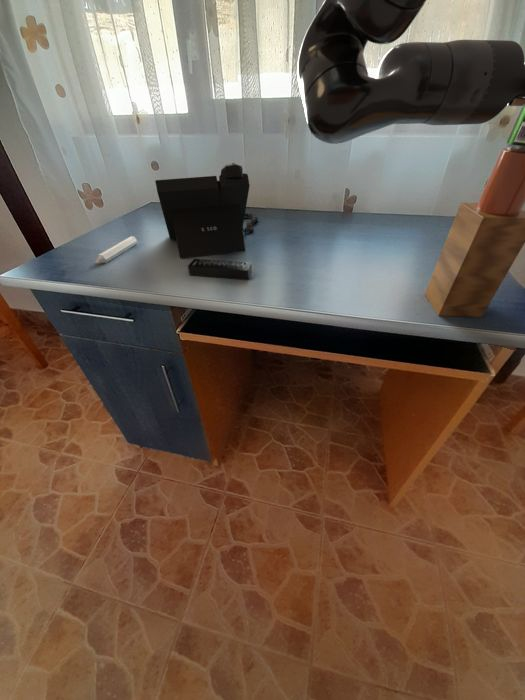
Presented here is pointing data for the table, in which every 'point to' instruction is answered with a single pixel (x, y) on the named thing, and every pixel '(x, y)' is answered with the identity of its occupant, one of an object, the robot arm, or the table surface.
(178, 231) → the office phone
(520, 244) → the stand
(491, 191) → the cup
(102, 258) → the white pencil
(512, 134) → the beer can
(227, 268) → the multiport hub
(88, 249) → the table surface
